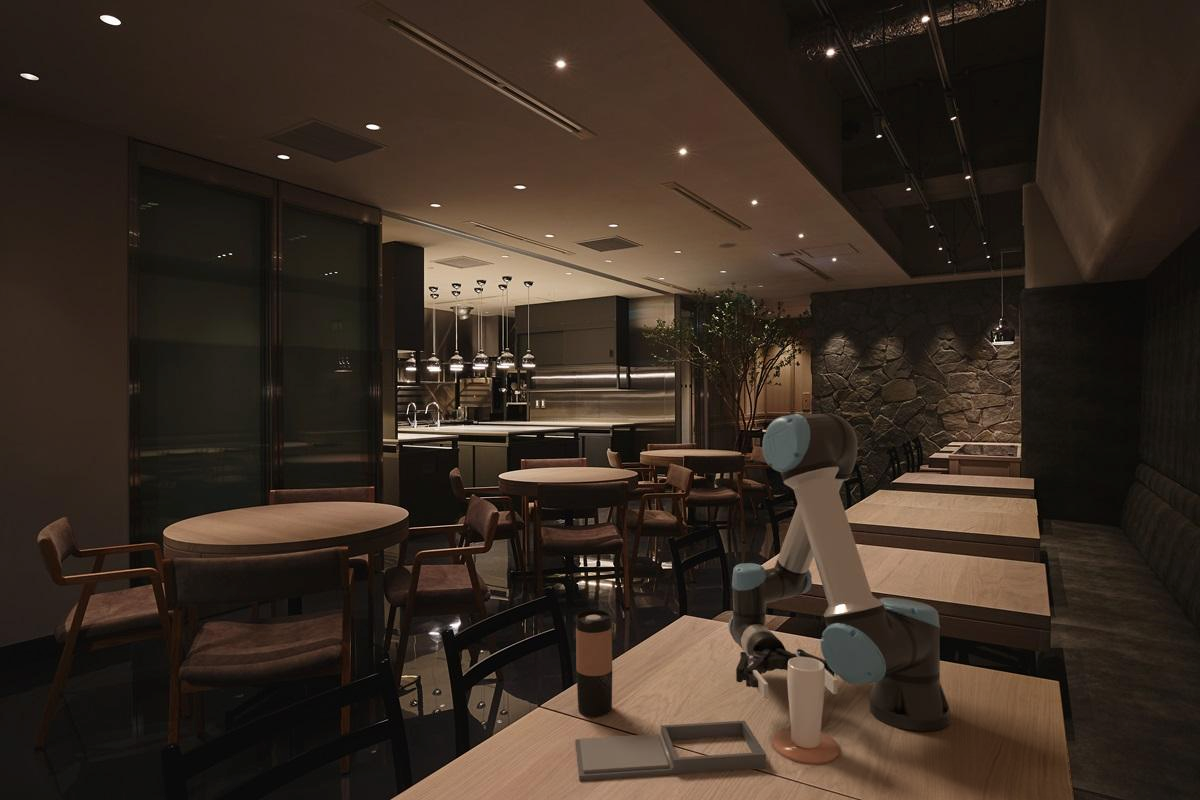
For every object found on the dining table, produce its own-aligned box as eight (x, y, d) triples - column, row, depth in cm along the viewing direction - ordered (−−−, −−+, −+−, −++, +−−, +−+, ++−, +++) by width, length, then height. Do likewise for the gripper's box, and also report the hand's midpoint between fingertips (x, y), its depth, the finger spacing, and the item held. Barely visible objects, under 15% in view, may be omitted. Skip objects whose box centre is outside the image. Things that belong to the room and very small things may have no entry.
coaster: (823, 729, 134) (822, 726, 134) (850, 761, 122) (850, 758, 122) (763, 732, 133) (763, 729, 133) (785, 766, 121) (785, 762, 121)
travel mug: (605, 698, 149) (603, 607, 149) (618, 713, 142) (617, 618, 142) (572, 705, 147) (570, 612, 146) (584, 720, 139) (582, 623, 139)
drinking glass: (780, 742, 128) (780, 663, 128) (797, 729, 133) (798, 653, 132) (814, 756, 123) (814, 674, 123) (830, 742, 128) (831, 663, 128)
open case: (744, 733, 133) (744, 720, 133) (766, 768, 121) (766, 754, 121) (575, 743, 130) (575, 730, 130) (579, 780, 118) (579, 766, 118)
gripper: (818, 661, 151) (864, 705, 130) (707, 667, 149) (736, 712, 128) (817, 628, 151) (863, 665, 130) (707, 633, 149) (736, 672, 128)
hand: (800, 689), depth 129 cm, fingers open, 13 cm apart
